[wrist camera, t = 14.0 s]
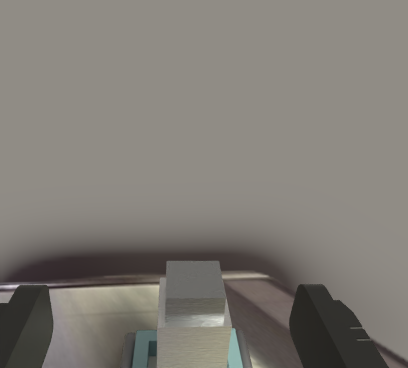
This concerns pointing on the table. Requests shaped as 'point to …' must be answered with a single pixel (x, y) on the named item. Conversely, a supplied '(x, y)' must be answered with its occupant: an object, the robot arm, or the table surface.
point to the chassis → (147, 350)
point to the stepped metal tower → (193, 316)
